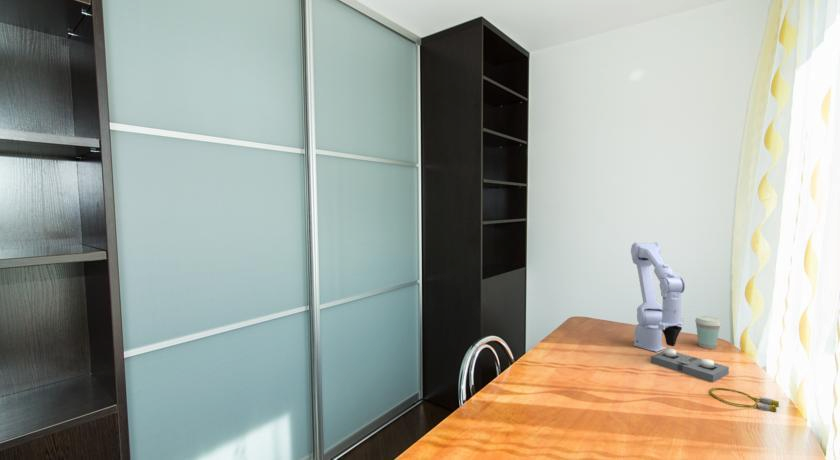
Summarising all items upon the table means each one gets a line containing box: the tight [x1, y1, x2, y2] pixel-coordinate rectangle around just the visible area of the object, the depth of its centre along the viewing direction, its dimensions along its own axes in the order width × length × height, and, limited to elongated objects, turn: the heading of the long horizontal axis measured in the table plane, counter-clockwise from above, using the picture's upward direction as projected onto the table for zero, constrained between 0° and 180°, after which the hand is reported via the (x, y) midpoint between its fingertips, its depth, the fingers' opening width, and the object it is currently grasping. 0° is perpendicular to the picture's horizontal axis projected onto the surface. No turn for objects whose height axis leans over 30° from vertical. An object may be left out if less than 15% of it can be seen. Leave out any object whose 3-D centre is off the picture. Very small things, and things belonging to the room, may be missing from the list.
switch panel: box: [650, 350, 730, 383], centre depth 139 cm, size 20×12×2 cm, turn 32°
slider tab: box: [678, 353, 690, 364], centre depth 138 cm, size 3×2×3 cm
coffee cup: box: [695, 315, 721, 350], centre depth 160 cm, size 8×8×12 cm
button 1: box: [664, 347, 677, 357], centre depth 144 cm, size 4×4×2 cm
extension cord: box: [709, 387, 780, 412], centre depth 116 cm, size 12×16×2 cm
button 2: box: [700, 357, 715, 368], centre depth 134 cm, size 4×4×2 cm
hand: (670, 345), depth 144 cm, fingers closed
